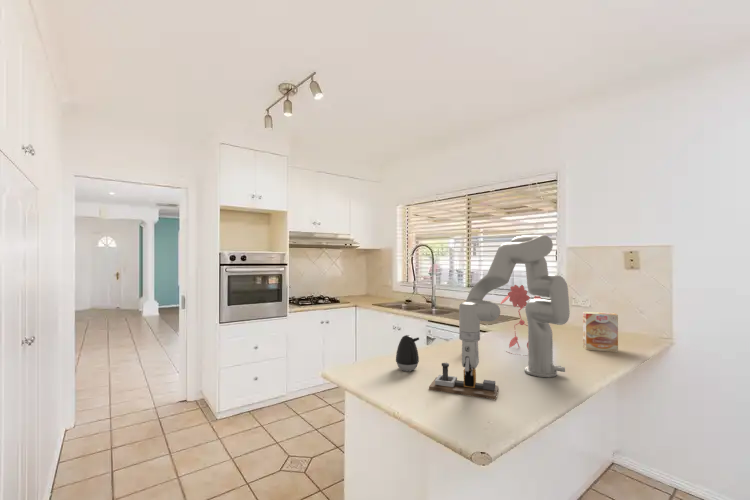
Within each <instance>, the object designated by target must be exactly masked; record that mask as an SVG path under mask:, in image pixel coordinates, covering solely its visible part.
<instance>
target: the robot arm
mask: <svg viewBox="0 0 750 500" xmlns="http://www.w3.org/2000/svg"><path fill="white" fill-rule="evenodd" d="M553 246H554V245H553V240H552V238H551V237H549V236H548V235H546V234H532V235H531V234H529V235H521V236H520V235H519V236H516V237H514V238H512V239H511V240H510V242H504V243H502V244H501V245H499V246H498V248H497V250H496V252H495V255H494V257H493V260H492V262H491V265H490V267H489V269H488V271H487V273H486V275H484V276H483V277H482V278H481V279H480V280H478V282H476V284H474V285H473V286H472V288H471V289H470V291H469V293H468V294H467V298H466V300H465V302H461V303H459V304H458V305H459V307H458V308H459V309H458V312H459V313H458V314H459V317H458V320H459V323H458V324H459V325H458V326H459V328H458V329H459V333H458V334H459V340H461V365H462V367H463V368H464V369H465V386H470V387H473V386H474V376H473V369H476V368H477V367H478V365H479V363H480V359H479V358H480V356H479V353H480V352H479V341H481V322H494V321H496V320H497V319H498V318H499V317H500V315H501V309H500V306H499V305H498V304H497V303H496V302H493V301H489V300H483V299H484V298H485V297H486V296H487V295H488V294H489V293H490V292H492V291H494V290H496V289H499V288H500V287H504V286H505V285H507V284H508V283H509V282H510V278H511V277H512V274H513V272H514V269H515V266H516V265H517V264H518V265H519V264H520V265H521V264H522V265H525V274H526V284H527V292H528V293H529V294H530V295H532V296H533V297H535V296H540V297H541V299H534V298H533V299H529V300H528V301H527V304H526V306H525V307H524V308H525V316H526V321H527V334H528V335H527V336H528V337H527V343H528V348H527V349H528V350H527V351H528V356H527V358H528V366H525V367H524V372H525V373H526V374H529V375H531V376H534V377H537V378H538V377H539V378H554V377H556V376H557V375H558V372H561V373H565V372H566V368H565V366H562V365H556V364H555V363H554V361H553V359H554V358H553V357H554V355H553V353H554V351H553V349H554V347H553V346H554V345H553V330H552V327H551V325H550V324H552V325H559V326H563V325H565V324H567V322H568V321H569V318H570V313H571V312H570V311H571V310H570V297H569V288H568V283H567V281H566V279H565V278H564V277H562V276H561V275H557V274H549V270H548V262H547V260H546V257H547V256H548V255H549V254H550V253H551V252H552V250H553ZM544 298H549V299H544ZM470 369H471V370H470Z"/></svg>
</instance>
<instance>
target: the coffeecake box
mask: <svg viewBox="0 0 750 500" xmlns="http://www.w3.org/2000/svg"><path fill="white" fill-rule="evenodd" d="M582 347H583V348H584V349H585V350H586V351H595V352H596V351H599V352H612V353H613V352H614V353H618V352H619V315H618V314H617V313H614V312H603V311H602V312H601V311H599V312H597V311H582Z"/></svg>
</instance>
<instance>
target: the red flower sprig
mask: <svg viewBox="0 0 750 500" xmlns="http://www.w3.org/2000/svg"><path fill="white" fill-rule="evenodd" d="M509 289H510V291H508V292H507V295H506V296H505V297H504V298H503V299H502V300H501V302H500V305H502V304H504V303H505V302H506V301H507V300H508V299H509V302H511V303H512V306H513V307H514V308H519V309H518V316H519V318H520V320H519V322H518V323H515V325H514V327H513V328H514V329H516V326H518V325H521V326H526V327H528V324H526V323H525V321H524V320H523V319H522V316H521V313H520V311H521V310H522V309H523V308H526V304H527V303H528V301H530V300H531V297H530V296H529V295H528V290H526V289H525V287H524V285H523V284H521V285H520V286H519V285H517V284H514V286H513V285H511V286H510V288H509ZM533 299H542V297H540V296H533ZM516 334H517V333H516V332H514V337H513V338H511V340H510V341H509V344H508V347H509V348H512V347H514V346H515V345H516V344H517V347H518V348H520V345H519V342H518V340H519V339H518V338H519V337H518V336H516ZM526 347H527V349H528V342H526ZM507 353H509V354H513V355H514V353H513V352H512V353H511V352H510V351H509V352H508V351H507ZM516 355H519V356H520V354H518V353H516ZM524 356H527V357H528V355H526V354H524Z"/></svg>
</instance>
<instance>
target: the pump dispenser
mask: <svg viewBox="0 0 750 500" xmlns="http://www.w3.org/2000/svg"><path fill="white" fill-rule="evenodd" d="M417 341H420V337H415V338H413V337H412V336H411V335H409V334H406V335H404V336H402V337H401V339H400V341H399V342H398V346H397V350H396V355H395V362H396V365H397V367H398V368H399V370H401V371H403V372H412V371H414V370H416V369H417V367H418V364H419V363H420V357H419V351H418V348H417V347H418V346H417V344H416V342H417Z"/></svg>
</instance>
